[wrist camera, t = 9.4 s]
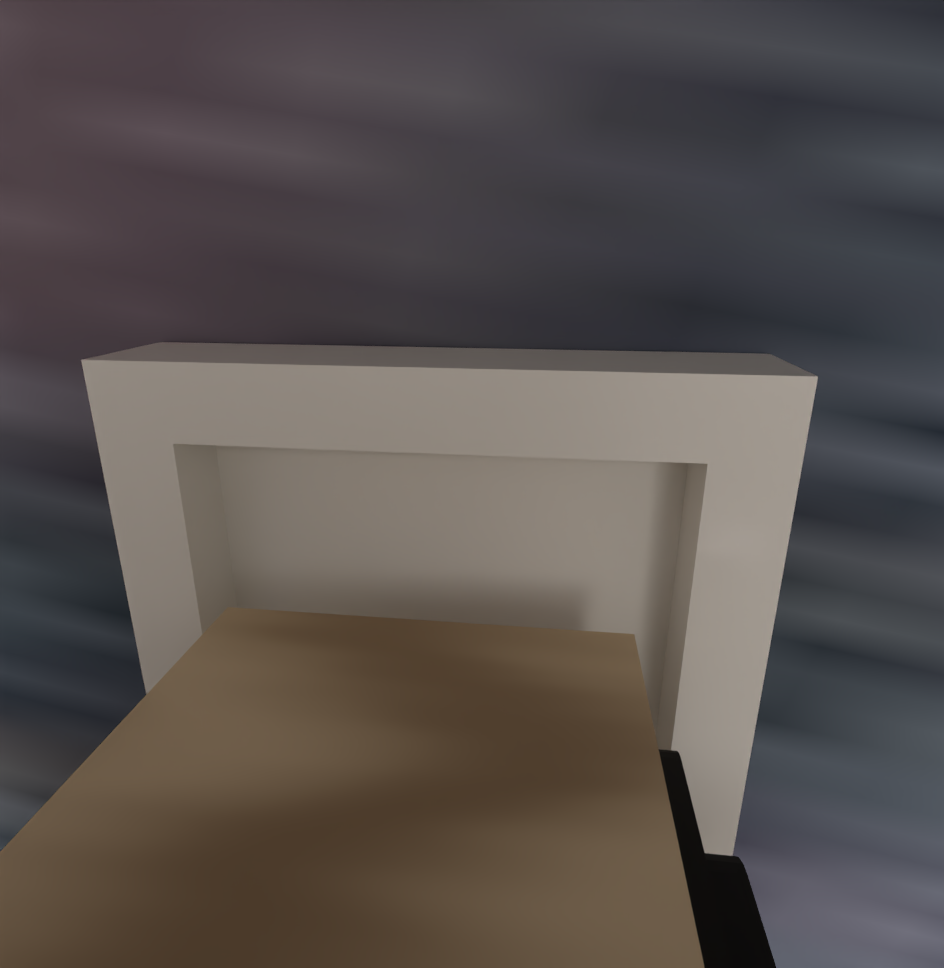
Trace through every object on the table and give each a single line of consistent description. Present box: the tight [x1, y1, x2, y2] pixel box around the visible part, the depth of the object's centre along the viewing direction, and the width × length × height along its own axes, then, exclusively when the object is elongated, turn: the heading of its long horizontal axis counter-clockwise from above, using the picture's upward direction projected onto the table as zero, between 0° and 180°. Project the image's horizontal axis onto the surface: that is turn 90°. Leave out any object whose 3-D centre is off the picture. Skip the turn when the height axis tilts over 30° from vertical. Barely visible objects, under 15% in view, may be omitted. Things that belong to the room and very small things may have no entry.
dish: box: [81, 342, 818, 856], centre depth 12 cm, size 10×13×2 cm
